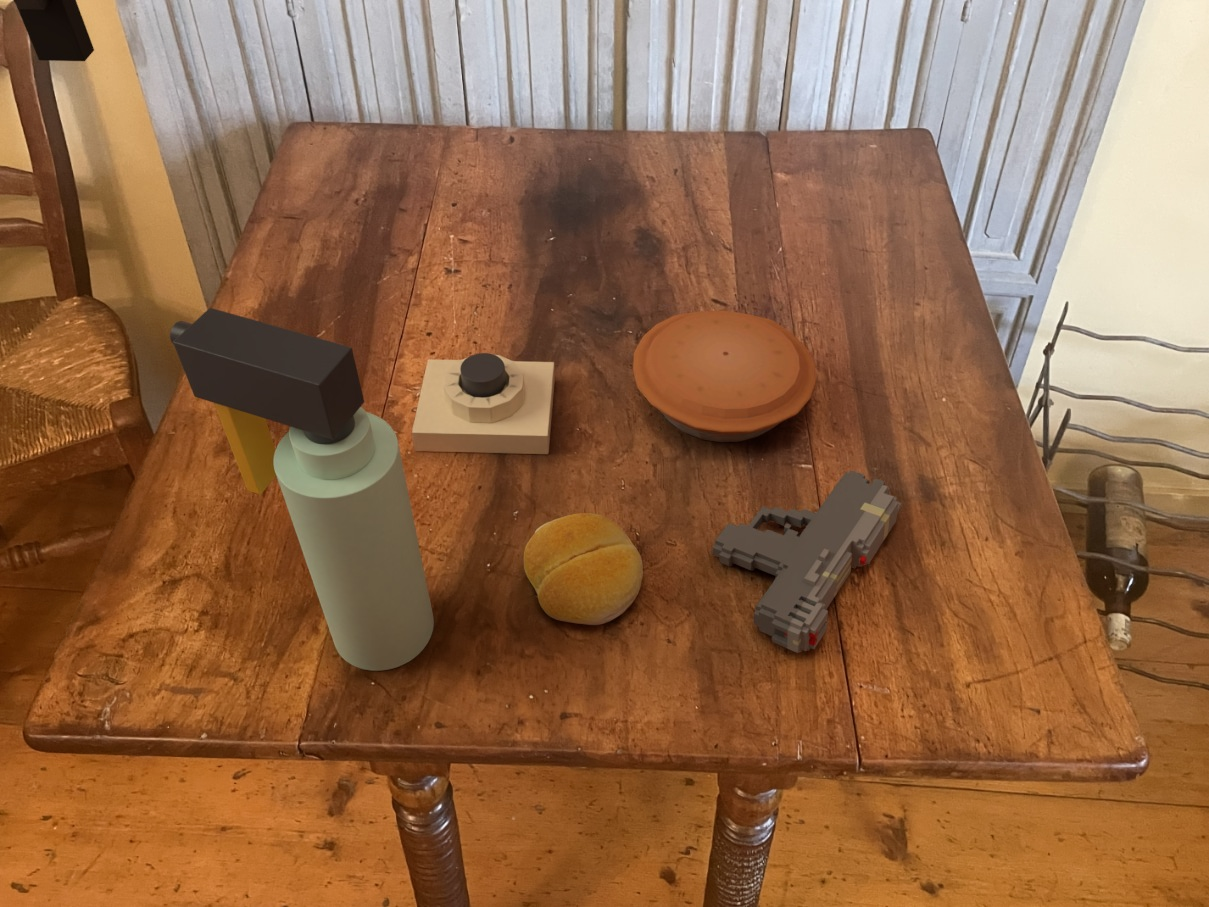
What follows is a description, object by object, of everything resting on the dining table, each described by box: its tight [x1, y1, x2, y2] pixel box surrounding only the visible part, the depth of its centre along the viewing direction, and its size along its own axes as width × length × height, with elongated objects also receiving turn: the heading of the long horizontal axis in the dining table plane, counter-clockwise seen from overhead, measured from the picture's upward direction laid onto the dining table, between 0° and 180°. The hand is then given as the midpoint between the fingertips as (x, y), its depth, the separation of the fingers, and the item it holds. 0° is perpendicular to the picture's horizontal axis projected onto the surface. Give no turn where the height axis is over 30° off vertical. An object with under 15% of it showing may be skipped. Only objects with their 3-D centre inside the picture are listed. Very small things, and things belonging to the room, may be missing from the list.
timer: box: [411, 354, 556, 455], centre depth 83 cm, size 11×9×4 cm
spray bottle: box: [169, 307, 435, 672], centre depth 61 cm, size 12×7×25 cm, turn 69°
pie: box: [632, 309, 817, 443], centre depth 84 cm, size 15×16×5 cm
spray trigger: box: [213, 403, 277, 496], centre depth 59 cm, size 1×2×8 cm, turn 159°
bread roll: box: [523, 512, 644, 626], centre depth 71 cm, size 8×9×4 cm
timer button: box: [460, 352, 506, 398], centre depth 81 cm, size 4×4×2 cm
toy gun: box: [712, 469, 903, 654], centre depth 73 cm, size 4×16×10 cm
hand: (66, 54), depth 58 cm, fingers closed
